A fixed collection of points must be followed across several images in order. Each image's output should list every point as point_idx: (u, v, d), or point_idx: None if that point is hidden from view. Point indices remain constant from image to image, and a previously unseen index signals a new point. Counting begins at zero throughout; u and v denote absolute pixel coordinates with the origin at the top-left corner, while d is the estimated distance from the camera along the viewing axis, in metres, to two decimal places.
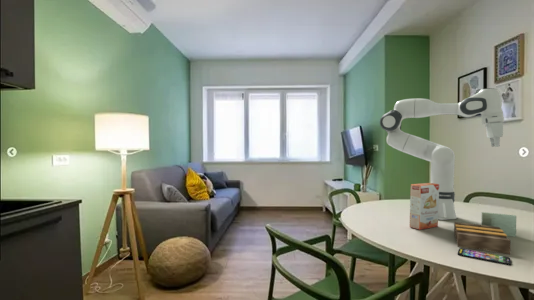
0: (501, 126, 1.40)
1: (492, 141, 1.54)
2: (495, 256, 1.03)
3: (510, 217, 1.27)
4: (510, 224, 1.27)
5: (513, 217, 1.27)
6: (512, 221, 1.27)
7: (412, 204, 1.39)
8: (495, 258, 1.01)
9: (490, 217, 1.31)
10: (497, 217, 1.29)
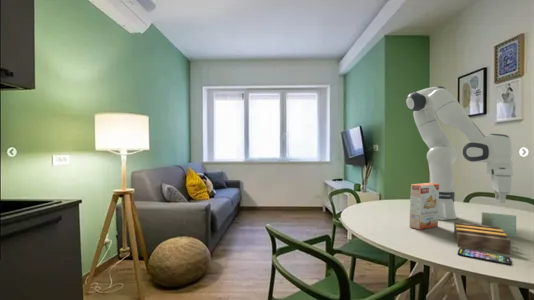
0: (509, 181, 1.20)
1: (497, 193, 1.34)
2: (495, 256, 1.03)
3: (510, 217, 1.27)
4: (510, 224, 1.27)
5: (513, 217, 1.27)
6: (512, 221, 1.27)
7: (412, 204, 1.39)
8: (495, 258, 1.01)
9: (490, 217, 1.31)
10: (497, 217, 1.29)
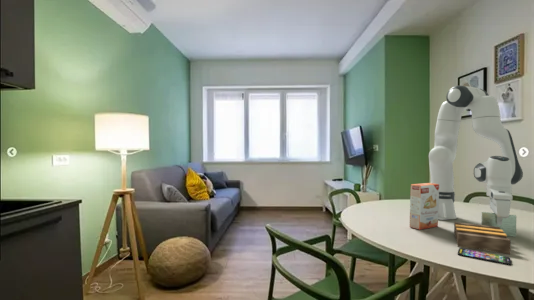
0: (508, 206, 1.21)
1: None
2: (495, 256, 1.03)
3: (510, 217, 1.27)
4: (510, 224, 1.27)
5: (513, 217, 1.27)
6: (512, 221, 1.27)
7: (412, 204, 1.39)
8: (495, 258, 1.01)
9: (490, 217, 1.31)
10: None
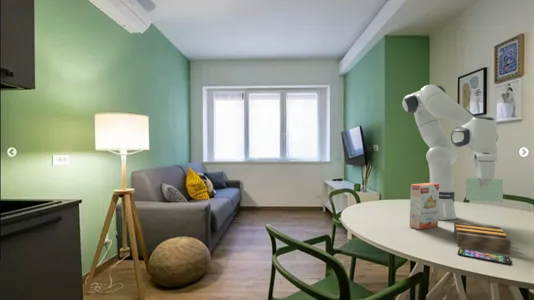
0: (492, 167, 1.11)
1: None
2: (495, 256, 1.03)
3: (496, 181, 1.17)
4: (496, 189, 1.17)
5: (499, 181, 1.17)
6: (498, 185, 1.17)
7: (412, 204, 1.39)
8: (495, 258, 1.01)
9: (475, 182, 1.20)
10: None
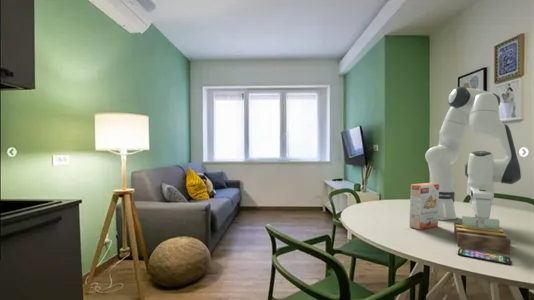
0: (489, 206, 1.09)
1: None
2: (495, 256, 1.03)
3: (493, 221, 1.16)
4: (493, 229, 1.16)
5: (496, 221, 1.15)
6: (495, 226, 1.15)
7: (412, 204, 1.39)
8: (495, 258, 1.01)
9: (471, 221, 1.19)
10: None
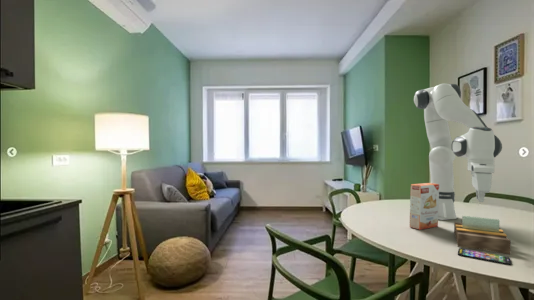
0: (489, 179, 1.09)
1: None
2: (495, 256, 1.03)
3: (493, 221, 1.16)
4: (493, 229, 1.16)
5: (496, 221, 1.15)
6: (495, 226, 1.15)
7: (412, 204, 1.39)
8: (495, 258, 1.01)
9: (471, 221, 1.19)
10: (479, 221, 1.18)
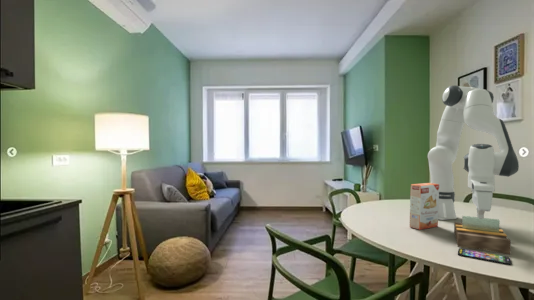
0: (490, 198, 1.09)
1: None
2: (495, 256, 1.03)
3: (493, 222, 1.16)
4: (493, 229, 1.16)
5: (496, 222, 1.15)
6: (495, 226, 1.15)
7: (412, 204, 1.39)
8: (495, 258, 1.01)
9: (471, 221, 1.19)
10: (479, 221, 1.18)
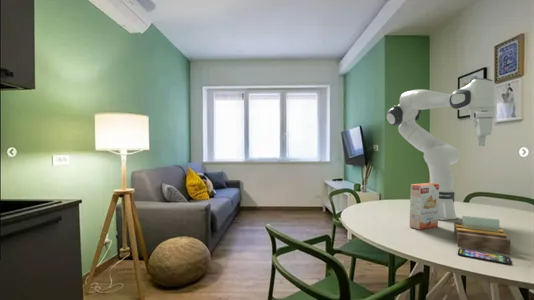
0: (490, 122, 1.20)
1: None
2: (495, 256, 1.03)
3: (493, 221, 1.16)
4: (493, 229, 1.16)
5: (496, 221, 1.15)
6: (495, 226, 1.15)
7: (412, 204, 1.39)
8: (495, 258, 1.01)
9: (471, 221, 1.19)
10: (479, 221, 1.18)
